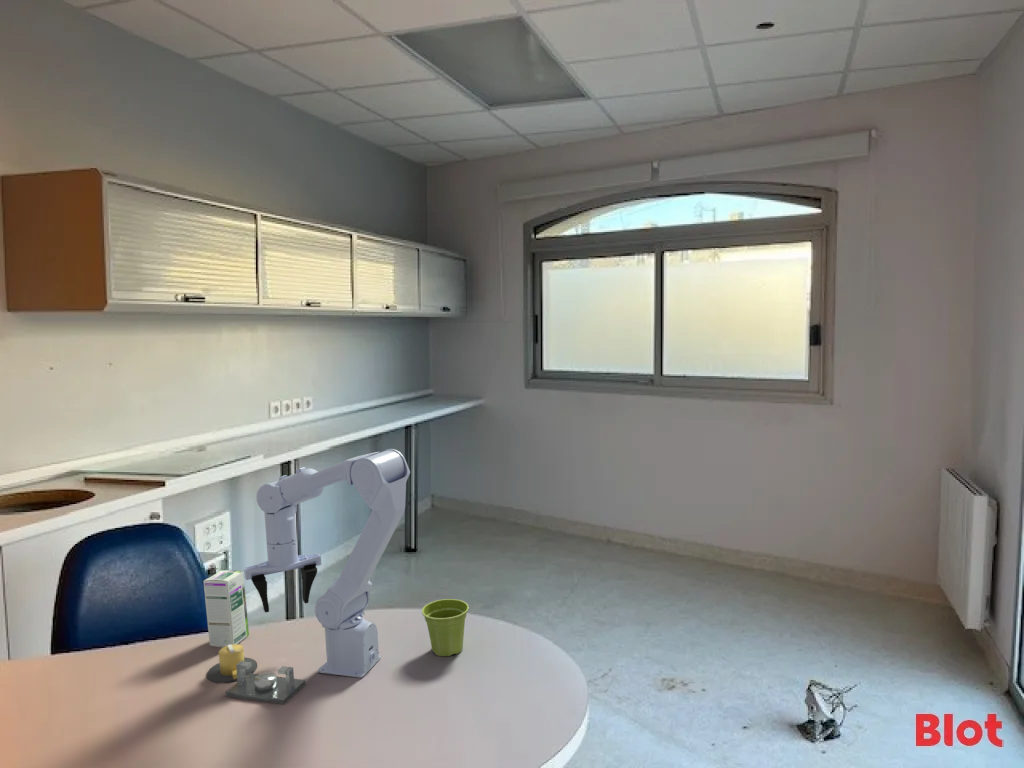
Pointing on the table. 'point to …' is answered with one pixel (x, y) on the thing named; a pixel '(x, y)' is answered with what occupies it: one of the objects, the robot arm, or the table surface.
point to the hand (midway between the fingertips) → (286, 605)
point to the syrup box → (226, 608)
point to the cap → (230, 659)
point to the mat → (217, 677)
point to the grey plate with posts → (265, 685)
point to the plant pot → (446, 625)
